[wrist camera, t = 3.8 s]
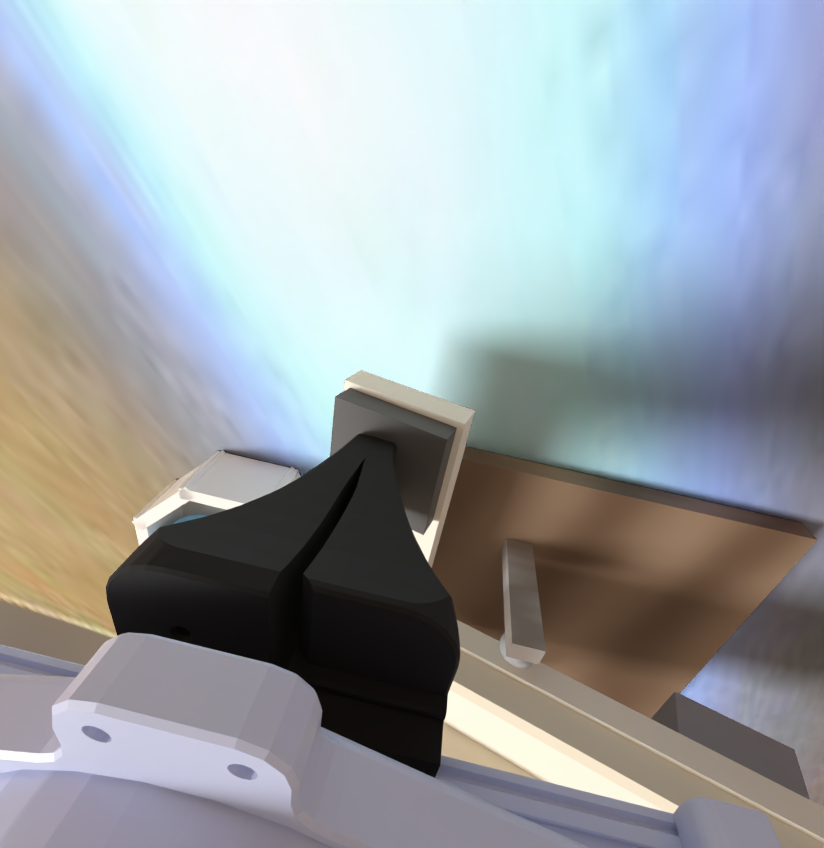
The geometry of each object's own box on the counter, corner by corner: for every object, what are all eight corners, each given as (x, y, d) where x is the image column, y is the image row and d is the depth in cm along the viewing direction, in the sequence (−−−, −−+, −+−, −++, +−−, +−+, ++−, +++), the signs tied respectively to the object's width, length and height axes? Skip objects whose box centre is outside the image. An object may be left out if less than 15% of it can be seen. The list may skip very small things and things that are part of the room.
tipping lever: (1030, 569, 11) (1225, 741, 7) (711, 812, 18) (731, 951, 15) (389, 354, 16) (322, 392, 12) (350, 613, 23) (302, 683, 20)
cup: (351, 480, 21) (331, 522, 18) (336, 605, 25) (318, 652, 23) (165, 436, 21) (120, 471, 18) (184, 567, 26) (150, 610, 23)
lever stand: (801, 522, 18) (935, 665, 13) (645, 707, 25) (687, 846, 20) (385, 428, 19) (345, 524, 14) (353, 633, 26) (318, 747, 21)
